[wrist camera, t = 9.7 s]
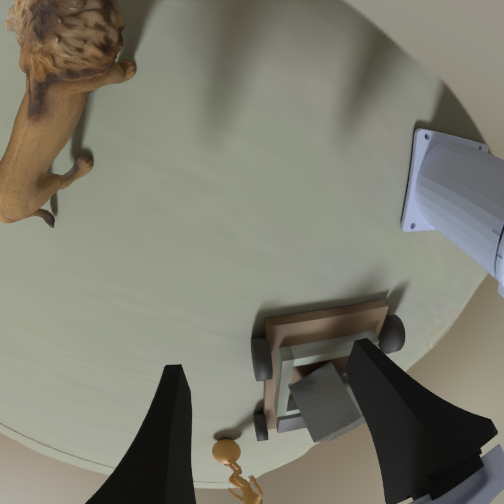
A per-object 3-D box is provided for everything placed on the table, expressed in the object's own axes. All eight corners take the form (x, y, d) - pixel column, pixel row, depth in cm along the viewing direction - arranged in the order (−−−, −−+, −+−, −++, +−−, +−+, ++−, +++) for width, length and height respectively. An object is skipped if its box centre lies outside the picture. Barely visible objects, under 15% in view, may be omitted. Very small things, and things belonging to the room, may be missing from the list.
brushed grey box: (330, 360, 23) (361, 417, 18) (346, 372, 27) (371, 418, 22) (288, 386, 23) (314, 442, 19) (310, 394, 27) (333, 439, 23)
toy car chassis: (394, 296, 24) (414, 322, 20) (348, 405, 34) (357, 425, 30) (250, 319, 22) (257, 354, 19) (253, 425, 32) (258, 448, 29)
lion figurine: (92, 1, 9) (15, -50, 1) (169, 14, 11) (133, -62, 3) (29, 213, 15) (-47, 288, 7) (90, 235, 17) (31, 331, 9)
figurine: (221, 428, 32) (231, 509, 21) (262, 430, 33) (278, 505, 23) (203, 447, 35) (210, 516, 25) (240, 449, 37) (251, 514, 27)
